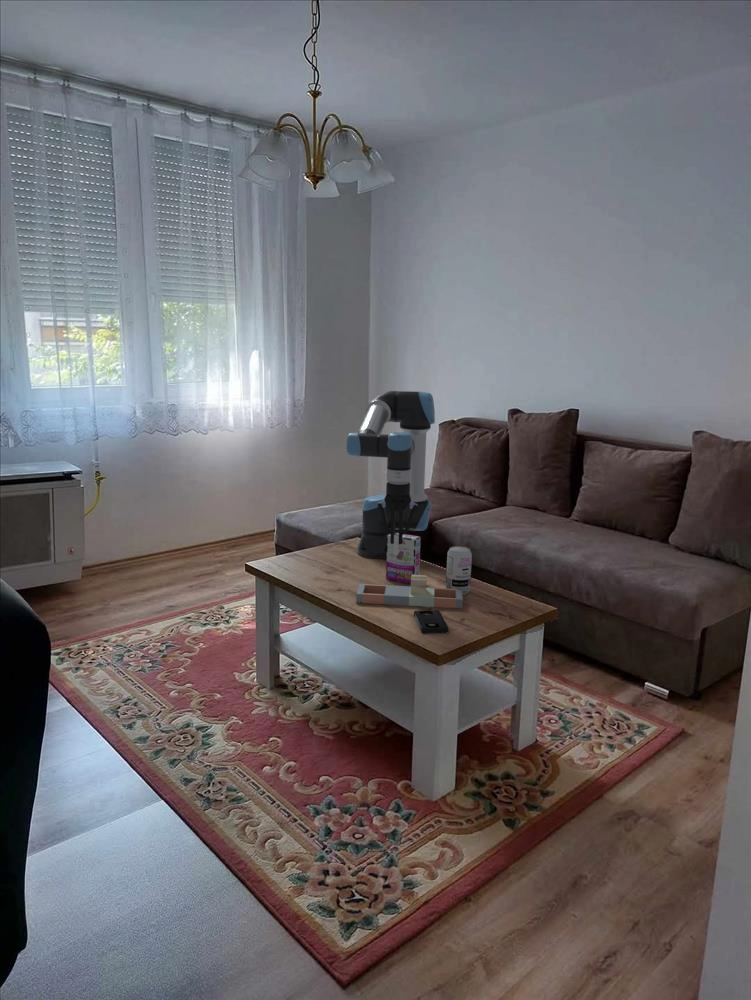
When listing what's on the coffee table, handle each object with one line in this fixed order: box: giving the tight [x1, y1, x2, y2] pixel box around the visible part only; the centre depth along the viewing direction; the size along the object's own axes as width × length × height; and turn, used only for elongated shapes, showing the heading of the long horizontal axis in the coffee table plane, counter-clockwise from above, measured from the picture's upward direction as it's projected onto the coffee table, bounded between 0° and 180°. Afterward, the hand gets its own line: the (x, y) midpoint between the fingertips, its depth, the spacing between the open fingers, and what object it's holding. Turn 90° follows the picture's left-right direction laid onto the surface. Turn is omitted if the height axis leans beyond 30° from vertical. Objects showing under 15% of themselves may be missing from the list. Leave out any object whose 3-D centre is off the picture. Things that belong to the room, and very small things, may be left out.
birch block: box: [410, 574, 428, 595], centre depth 233 cm, size 5×5×5 cm
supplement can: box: [445, 545, 473, 596], centre depth 243 cm, size 8×8×15 cm
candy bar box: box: [385, 533, 422, 585], centre depth 253 cm, size 11×5×16 cm, turn 62°
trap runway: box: [355, 583, 464, 610], centre depth 235 cm, size 10×34×3 cm, turn 85°
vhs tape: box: [413, 609, 450, 634], centre depth 215 cm, size 14×8×2 cm, turn 6°
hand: (395, 553), depth 232 cm, fingers closed
